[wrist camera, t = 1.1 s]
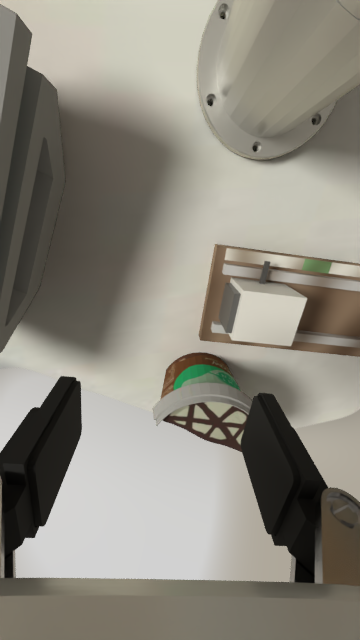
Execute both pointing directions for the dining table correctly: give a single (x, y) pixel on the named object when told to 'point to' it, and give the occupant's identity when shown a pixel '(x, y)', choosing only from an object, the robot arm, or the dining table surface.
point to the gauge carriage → (261, 310)
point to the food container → (204, 400)
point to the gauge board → (302, 276)
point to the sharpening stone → (25, 172)
